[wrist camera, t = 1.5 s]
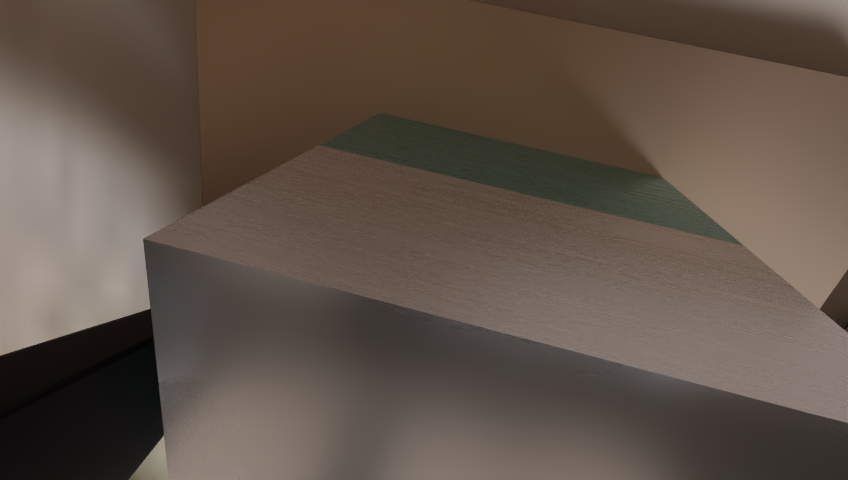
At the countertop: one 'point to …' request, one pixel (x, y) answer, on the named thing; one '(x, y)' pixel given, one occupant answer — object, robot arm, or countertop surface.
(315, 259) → the block
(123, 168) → the countertop surface
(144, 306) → the countertop surface
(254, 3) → the walnut stand
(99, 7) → the countertop surface
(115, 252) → the countertop surface
